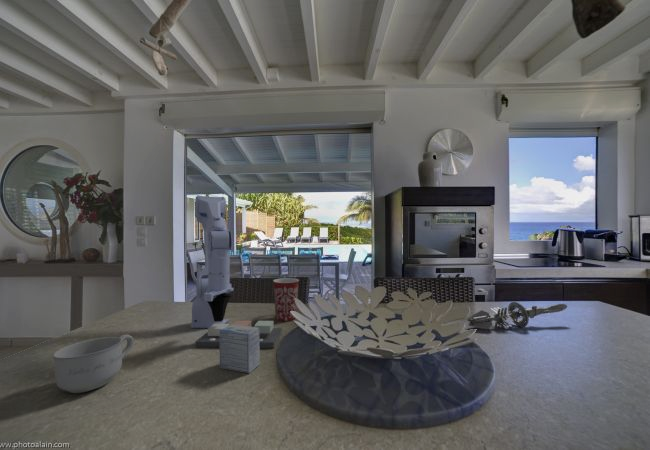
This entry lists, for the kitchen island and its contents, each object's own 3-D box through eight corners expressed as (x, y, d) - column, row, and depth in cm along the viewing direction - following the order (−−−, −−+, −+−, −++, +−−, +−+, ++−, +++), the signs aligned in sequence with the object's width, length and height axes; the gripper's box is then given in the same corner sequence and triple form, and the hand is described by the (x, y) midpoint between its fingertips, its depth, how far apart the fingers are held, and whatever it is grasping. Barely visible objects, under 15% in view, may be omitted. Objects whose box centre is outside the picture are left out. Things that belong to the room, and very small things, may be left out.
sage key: (254, 333, 79) (254, 325, 79) (258, 327, 83) (258, 320, 83) (270, 333, 78) (270, 325, 79) (273, 327, 83) (273, 320, 83)
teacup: (64, 407, 50) (65, 361, 50) (43, 389, 56) (44, 348, 56) (148, 373, 62) (148, 336, 62) (124, 361, 68) (124, 327, 68)
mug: (299, 321, 97) (299, 281, 97) (272, 322, 96) (272, 282, 96) (298, 311, 109) (298, 276, 110) (274, 312, 108) (274, 276, 109)
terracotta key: (230, 332, 79) (230, 325, 79) (236, 327, 83) (236, 320, 83) (246, 333, 79) (246, 325, 79) (251, 327, 83) (251, 320, 83)
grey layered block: (260, 365, 66) (260, 327, 66) (249, 374, 61) (249, 333, 62) (231, 360, 68) (231, 323, 68) (218, 368, 64) (218, 329, 64)
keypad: (195, 347, 76) (195, 340, 76) (213, 332, 87) (213, 326, 87) (273, 348, 75) (273, 341, 75) (281, 333, 86) (281, 327, 86)
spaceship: (581, 303, 88) (558, 289, 96) (478, 320, 84) (462, 304, 91) (575, 324, 91) (552, 308, 99) (474, 341, 87) (459, 324, 94)
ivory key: (207, 336, 79) (207, 328, 79) (214, 330, 83) (214, 323, 84) (223, 336, 79) (223, 328, 79) (229, 330, 83) (229, 323, 83)
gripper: (222, 277, 74) (222, 329, 74) (241, 269, 89) (241, 313, 88) (196, 277, 74) (195, 329, 74) (218, 269, 89) (218, 313, 89)
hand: (218, 320), depth 81 cm, fingers closed
